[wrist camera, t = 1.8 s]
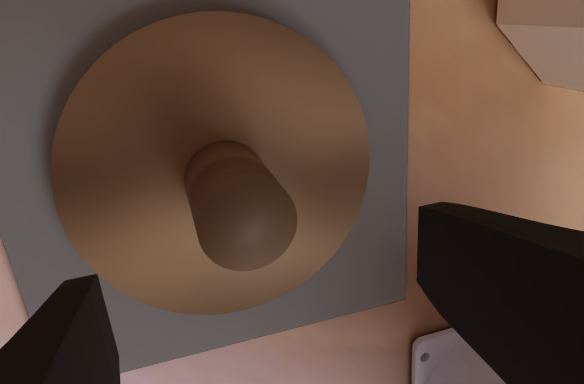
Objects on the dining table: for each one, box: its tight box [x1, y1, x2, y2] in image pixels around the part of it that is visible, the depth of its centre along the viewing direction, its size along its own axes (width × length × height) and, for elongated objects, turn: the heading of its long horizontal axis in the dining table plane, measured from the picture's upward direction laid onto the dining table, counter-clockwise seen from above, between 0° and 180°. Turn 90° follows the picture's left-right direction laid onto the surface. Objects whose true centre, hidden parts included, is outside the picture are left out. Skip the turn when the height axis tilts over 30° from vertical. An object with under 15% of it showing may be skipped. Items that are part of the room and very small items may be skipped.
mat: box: [0, 0, 410, 373], centre depth 18 cm, size 15×15×1 cm
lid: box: [50, 11, 370, 315], centre depth 15 cm, size 11×11×5 cm
